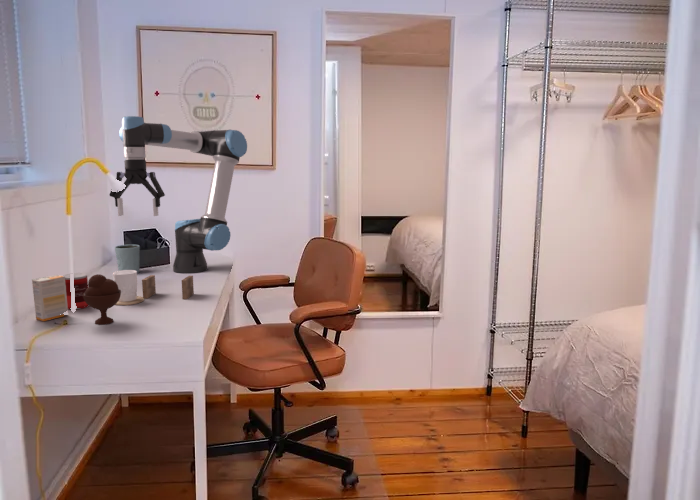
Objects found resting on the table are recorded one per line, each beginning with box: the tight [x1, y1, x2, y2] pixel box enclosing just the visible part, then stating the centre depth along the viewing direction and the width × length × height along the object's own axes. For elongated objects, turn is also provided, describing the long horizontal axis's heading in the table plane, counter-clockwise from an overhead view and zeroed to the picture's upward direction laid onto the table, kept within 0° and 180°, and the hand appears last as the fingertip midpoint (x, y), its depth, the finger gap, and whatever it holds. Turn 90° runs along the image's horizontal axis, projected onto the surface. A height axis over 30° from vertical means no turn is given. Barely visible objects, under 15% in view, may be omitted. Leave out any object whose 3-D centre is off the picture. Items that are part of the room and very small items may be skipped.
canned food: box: [62, 272, 90, 310], centre depth 187 cm, size 8×8×11 cm
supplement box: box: [31, 274, 69, 322], centre depth 175 cm, size 8×5×13 cm, turn 145°
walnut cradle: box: [141, 274, 195, 300], centre depth 202 cm, size 8×16×7 cm, turn 87°
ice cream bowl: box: [83, 273, 121, 326], centre depth 170 cm, size 11×11×15 cm
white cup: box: [112, 270, 138, 302], centre depth 195 cm, size 8×8×10 cm
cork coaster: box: [114, 295, 145, 306], centre depth 196 cm, size 11×11×1 cm
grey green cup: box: [114, 244, 141, 274], centre depth 243 cm, size 10×10×12 cm
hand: (138, 215), depth 209 cm, fingers open, 13 cm apart
